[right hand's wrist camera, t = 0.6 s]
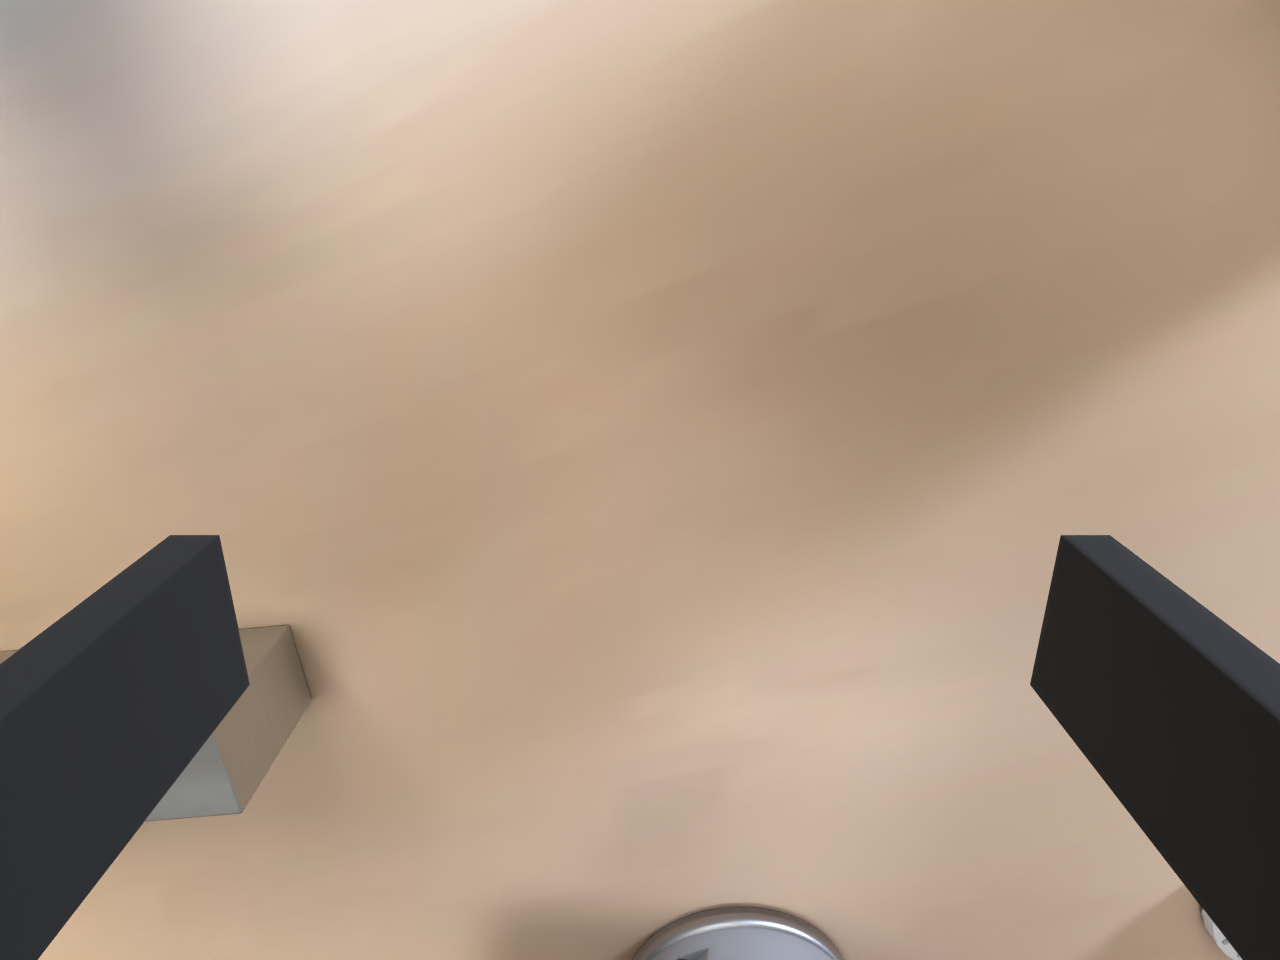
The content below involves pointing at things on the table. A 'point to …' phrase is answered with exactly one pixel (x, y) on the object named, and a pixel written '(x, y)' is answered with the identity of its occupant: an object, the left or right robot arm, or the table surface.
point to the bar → (242, 731)
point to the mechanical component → (1219, 937)
